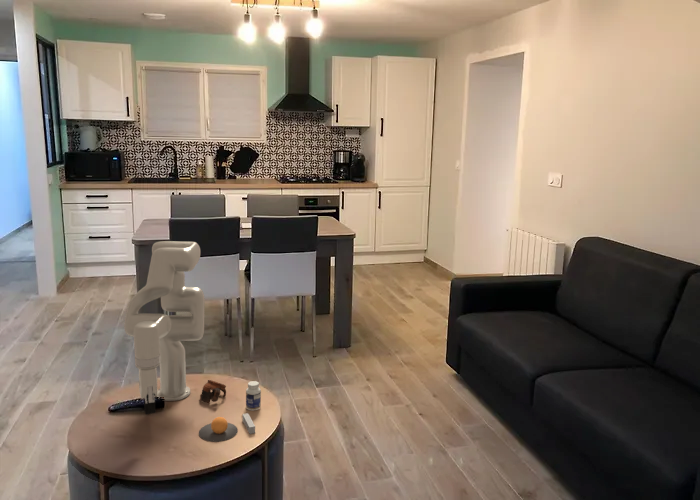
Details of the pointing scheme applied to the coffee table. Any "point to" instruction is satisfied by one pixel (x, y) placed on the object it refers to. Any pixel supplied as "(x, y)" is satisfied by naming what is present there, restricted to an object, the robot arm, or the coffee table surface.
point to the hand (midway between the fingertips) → (150, 412)
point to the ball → (219, 425)
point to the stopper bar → (248, 423)
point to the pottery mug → (215, 393)
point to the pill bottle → (253, 396)
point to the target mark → (209, 435)
